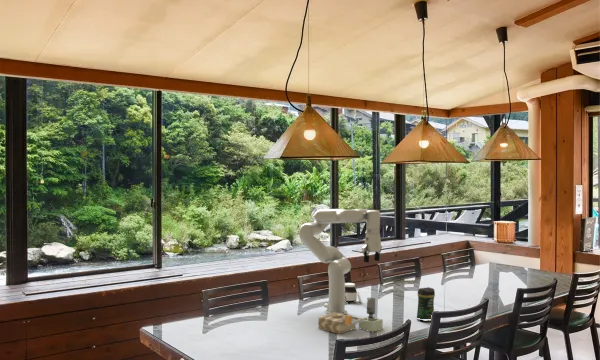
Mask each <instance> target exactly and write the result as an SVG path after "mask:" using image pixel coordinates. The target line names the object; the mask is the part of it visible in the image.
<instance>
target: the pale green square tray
mask: <svg viewBox="0 0 600 360" xmlns="http://www.w3.org/2000/svg"><path fill="white" fill-rule="evenodd" d="M368 316H369V315H367V316H365V317H363V318H364V321H363V322H360V323H358V329H359V328H361V329H360V330H362V329H364V330H363V331H366V330H368V331H367V332H370V331H372V332H371V333H375V332H378V331H380V330H382V329H383V328H384V327H383V323H384V322H383V318H378V317H375V321H373V322H372V321H368V320H367V317H368ZM379 329H380V330H379ZM377 330H378V331H377ZM374 331H375V332H374Z"/></svg>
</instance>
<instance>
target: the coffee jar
mask: <svg viewBox="0 0 600 360" xmlns="http://www.w3.org/2000/svg"><path fill="white" fill-rule="evenodd" d="M435 294H436V292H435V289H434V288H432V287H429V286H428V287H421V288H418V289H417V300H418V302H417V310H416V311H417V312H416V319H417V318H420V319H431V315H432V312H433V311H434V312H435V308H434V305H435V304H434V303H435V302H434V301H435V297H436V295H435Z"/></svg>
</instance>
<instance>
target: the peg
mask: <svg viewBox="0 0 600 360" xmlns="http://www.w3.org/2000/svg"><path fill="white" fill-rule="evenodd" d="M366 314H367V316H368V317H367V316H366V317H367V320H368V321H372V322H373V321H375V318H376V317H375V316H373V315H375V314H376V298H374V297H367V299H366Z"/></svg>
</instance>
